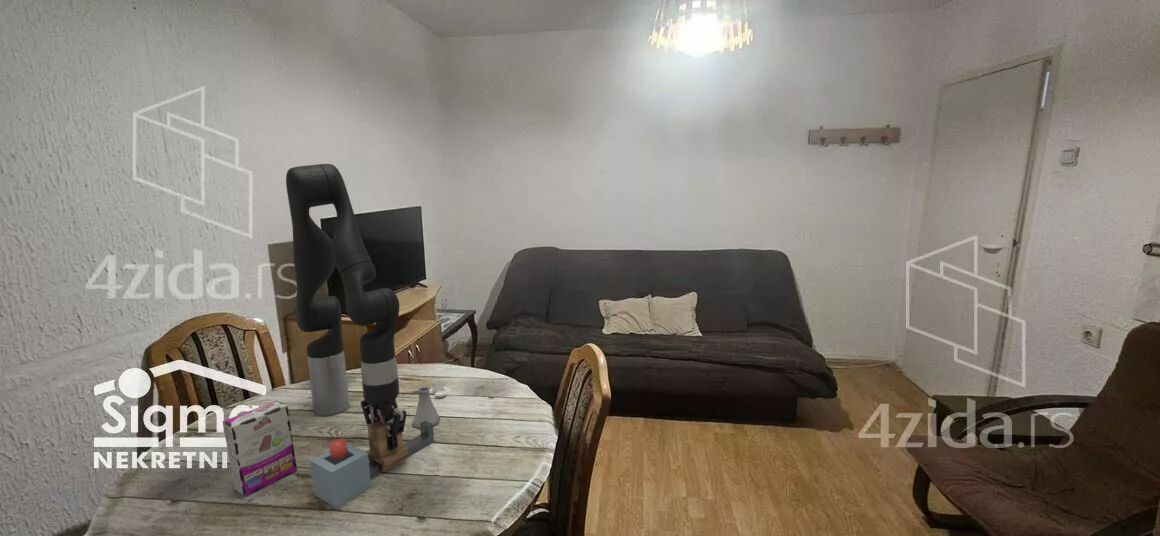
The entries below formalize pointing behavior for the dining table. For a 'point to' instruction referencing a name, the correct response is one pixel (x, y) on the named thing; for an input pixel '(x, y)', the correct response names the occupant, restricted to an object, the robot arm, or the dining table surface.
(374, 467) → the rail
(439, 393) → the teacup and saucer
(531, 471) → the dining table surface
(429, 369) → the dining table surface
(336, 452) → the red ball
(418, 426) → the flask
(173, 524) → the dining table surface
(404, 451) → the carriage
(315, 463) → the button housing
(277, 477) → the candy bar box
